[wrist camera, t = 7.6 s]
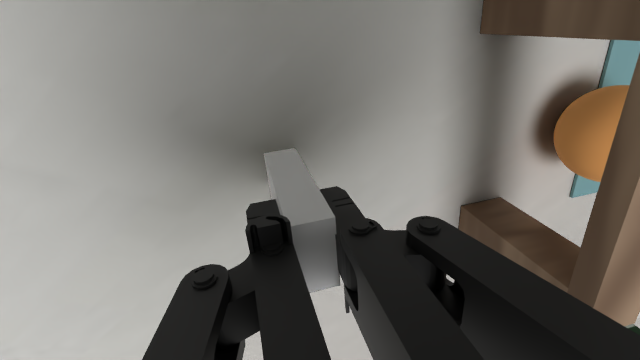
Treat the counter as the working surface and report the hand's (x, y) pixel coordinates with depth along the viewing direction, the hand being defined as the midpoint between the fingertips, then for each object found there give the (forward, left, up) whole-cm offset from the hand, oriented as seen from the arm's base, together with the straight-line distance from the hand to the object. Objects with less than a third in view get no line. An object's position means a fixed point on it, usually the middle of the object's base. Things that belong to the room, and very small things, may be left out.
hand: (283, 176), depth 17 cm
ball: (+1, +19, +1) cm, 19 cm away
